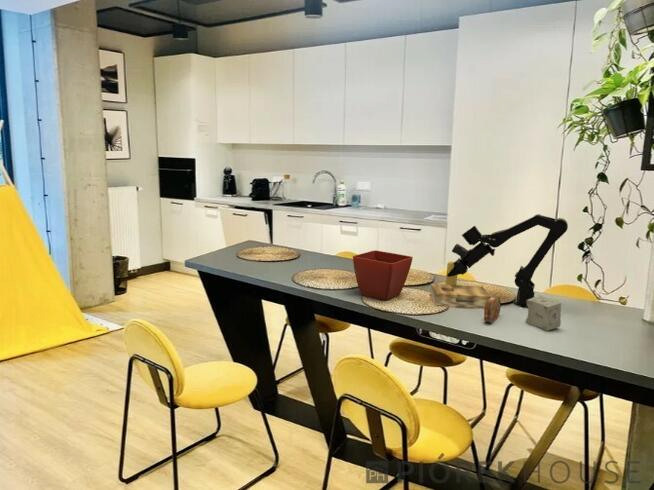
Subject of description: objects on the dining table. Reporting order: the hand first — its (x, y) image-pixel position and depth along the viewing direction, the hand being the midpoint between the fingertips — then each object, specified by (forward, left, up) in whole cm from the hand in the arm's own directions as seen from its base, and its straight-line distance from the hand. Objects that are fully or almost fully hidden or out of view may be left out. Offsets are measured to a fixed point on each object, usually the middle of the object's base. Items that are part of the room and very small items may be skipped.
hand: (448, 274), depth 228 cm
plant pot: (+3, +31, -8) cm, 32 cm away
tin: (-35, +3, -8) cm, 36 cm away
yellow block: (-1, -1, -6) cm, 7 cm away
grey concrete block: (-46, -11, -8) cm, 48 cm away
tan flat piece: (-13, +2, -8) cm, 15 cm away
